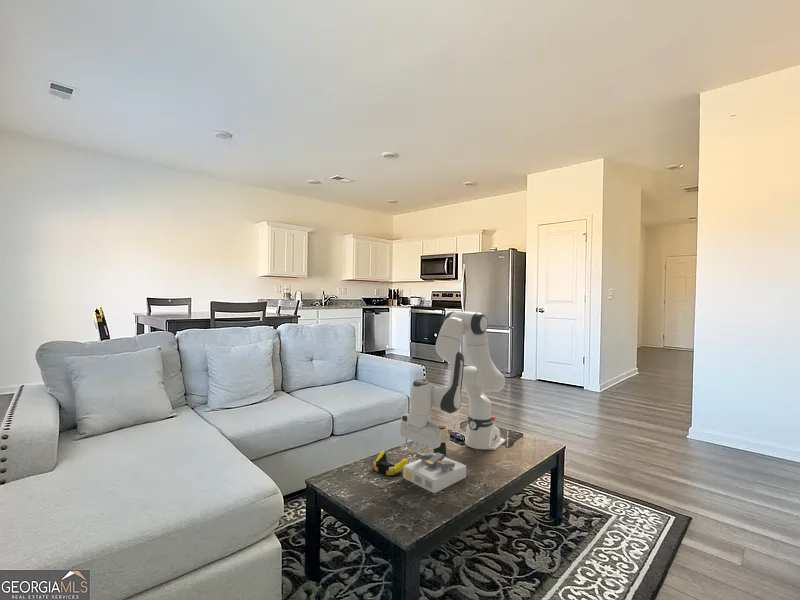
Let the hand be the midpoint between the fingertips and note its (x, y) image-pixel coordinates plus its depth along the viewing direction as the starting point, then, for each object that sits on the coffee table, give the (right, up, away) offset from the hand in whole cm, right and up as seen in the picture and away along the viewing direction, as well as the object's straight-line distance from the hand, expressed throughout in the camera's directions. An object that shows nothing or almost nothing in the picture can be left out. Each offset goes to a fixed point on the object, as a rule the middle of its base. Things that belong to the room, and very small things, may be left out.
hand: (419, 452), depth 165 cm
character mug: (+11, -10, +23) cm, 27 cm away
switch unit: (+6, -10, -1) cm, 12 cm away
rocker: (+6, -3, -1) cm, 7 cm away
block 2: (+10, -3, -5) cm, 12 cm away
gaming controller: (-13, -10, +5) cm, 17 cm away
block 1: (+3, -3, +3) cm, 4 cm away
